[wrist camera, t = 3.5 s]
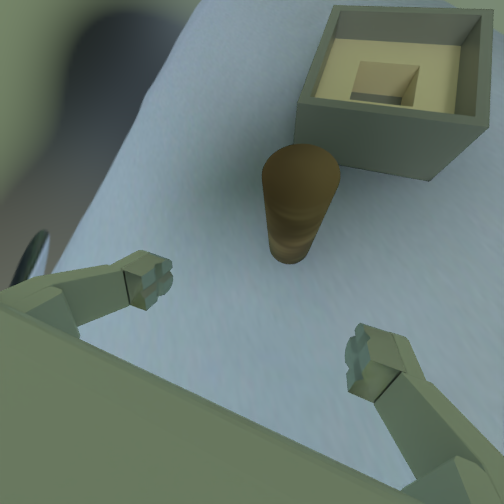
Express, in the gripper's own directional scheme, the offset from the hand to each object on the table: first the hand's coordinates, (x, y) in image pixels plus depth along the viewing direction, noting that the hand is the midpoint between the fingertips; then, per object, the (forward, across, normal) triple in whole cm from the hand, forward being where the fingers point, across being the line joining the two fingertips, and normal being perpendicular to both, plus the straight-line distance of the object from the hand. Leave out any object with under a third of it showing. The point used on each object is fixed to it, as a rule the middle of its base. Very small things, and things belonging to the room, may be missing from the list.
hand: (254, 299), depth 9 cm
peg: (+15, 0, +4) cm, 15 cm away
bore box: (+29, -5, -10) cm, 31 cm away
